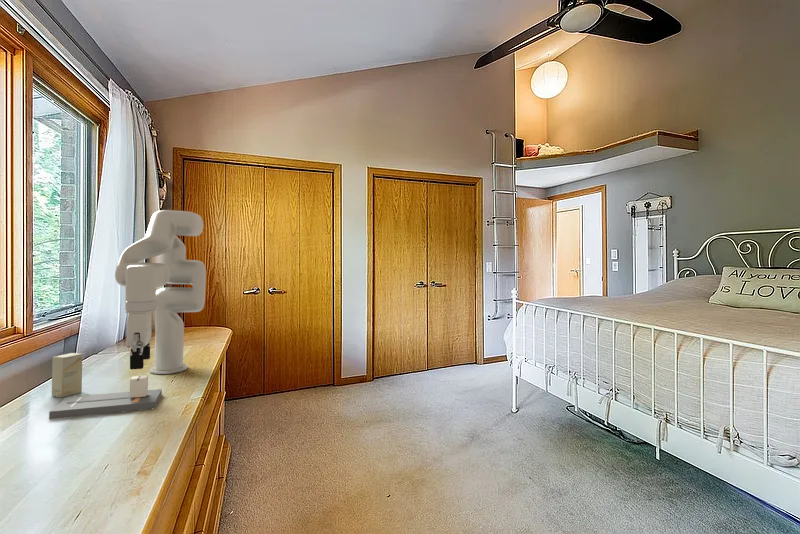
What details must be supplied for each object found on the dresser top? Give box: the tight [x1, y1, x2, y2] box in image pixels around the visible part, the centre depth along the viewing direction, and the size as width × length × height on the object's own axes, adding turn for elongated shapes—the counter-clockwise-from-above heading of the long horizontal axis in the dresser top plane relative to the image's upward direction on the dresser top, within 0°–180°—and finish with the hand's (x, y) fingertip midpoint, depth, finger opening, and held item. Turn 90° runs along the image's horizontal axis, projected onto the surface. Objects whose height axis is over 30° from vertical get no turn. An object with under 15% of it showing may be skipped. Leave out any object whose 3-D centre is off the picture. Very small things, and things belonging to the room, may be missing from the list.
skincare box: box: [51, 352, 83, 398], centre depth 125 cm, size 6×4×12 cm
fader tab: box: [129, 374, 149, 398], centre depth 119 cm, size 3×4×5 cm
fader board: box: [48, 388, 163, 420], centre depth 116 cm, size 12×24×2 cm, turn 112°
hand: (140, 363), depth 119 cm, fingers open, 9 cm apart
